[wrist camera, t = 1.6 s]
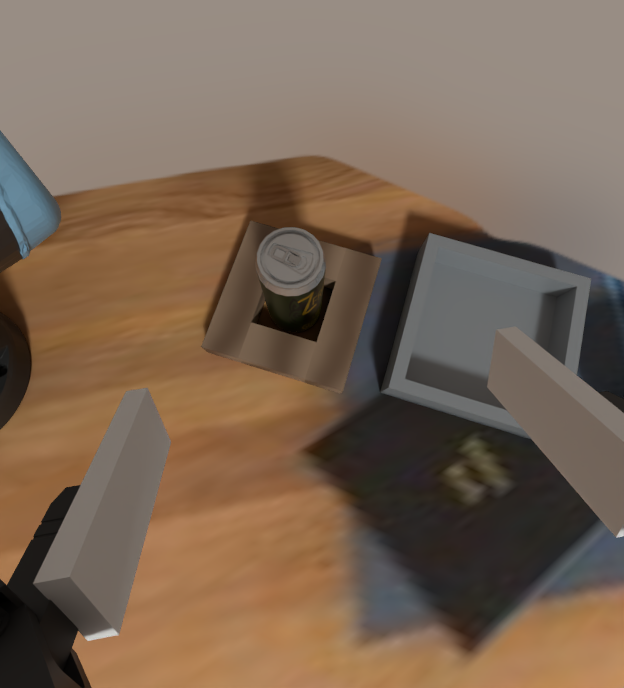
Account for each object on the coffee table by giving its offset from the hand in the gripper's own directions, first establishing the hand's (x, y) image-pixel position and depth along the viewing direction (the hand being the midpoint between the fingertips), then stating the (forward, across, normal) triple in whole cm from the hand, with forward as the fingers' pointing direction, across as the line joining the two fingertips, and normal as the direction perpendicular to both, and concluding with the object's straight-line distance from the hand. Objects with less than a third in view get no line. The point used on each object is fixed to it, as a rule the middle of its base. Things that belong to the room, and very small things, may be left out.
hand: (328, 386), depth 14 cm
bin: (+20, +17, -13) cm, 29 cm away
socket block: (+24, 0, -8) cm, 26 cm away
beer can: (+24, 0, -8) cm, 26 cm away
